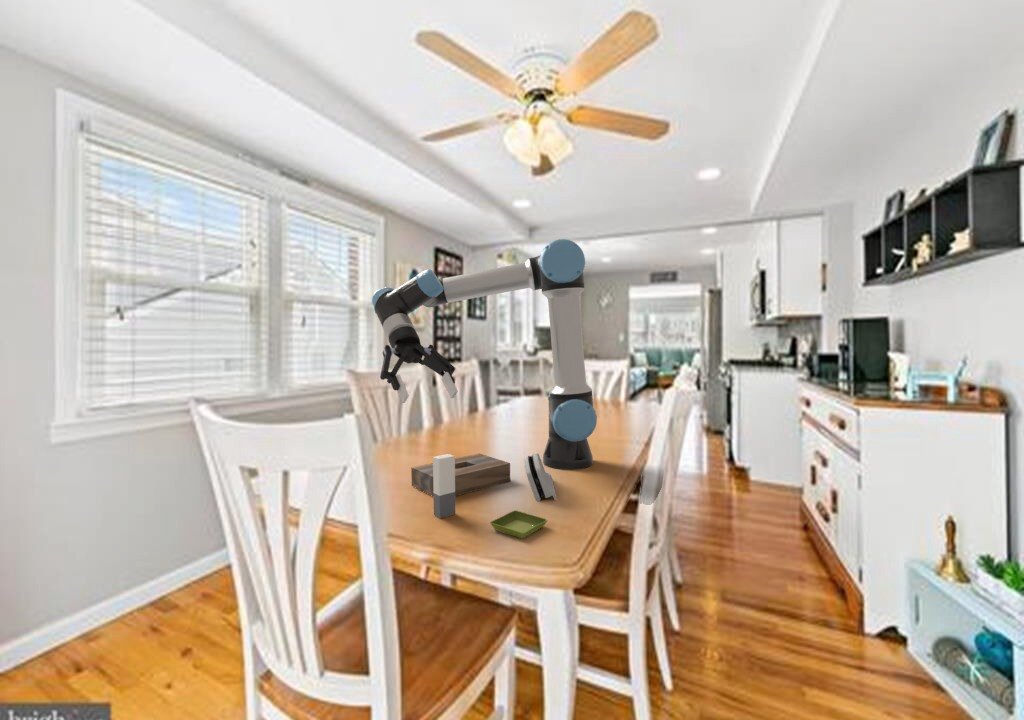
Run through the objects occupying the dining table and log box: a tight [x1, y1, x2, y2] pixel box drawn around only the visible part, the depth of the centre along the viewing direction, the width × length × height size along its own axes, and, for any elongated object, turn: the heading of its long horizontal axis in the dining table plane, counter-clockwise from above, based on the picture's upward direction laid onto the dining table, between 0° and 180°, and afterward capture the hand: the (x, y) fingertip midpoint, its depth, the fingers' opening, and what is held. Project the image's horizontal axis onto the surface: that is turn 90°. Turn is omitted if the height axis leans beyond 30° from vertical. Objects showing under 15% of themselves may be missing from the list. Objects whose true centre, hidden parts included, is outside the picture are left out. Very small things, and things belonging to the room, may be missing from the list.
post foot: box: [410, 453, 511, 497], centre depth 127 cm, size 14×22×5 cm, turn 130°
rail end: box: [432, 453, 456, 519], centre depth 105 cm, size 2×4×13 cm, turn 130°
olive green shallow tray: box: [489, 510, 548, 539], centre depth 97 cm, size 9×9×2 cm
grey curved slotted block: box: [523, 453, 558, 502], centre depth 122 cm, size 17×5×10 cm, turn 179°
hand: (431, 397), depth 116 cm, fingers open, 13 cm apart
